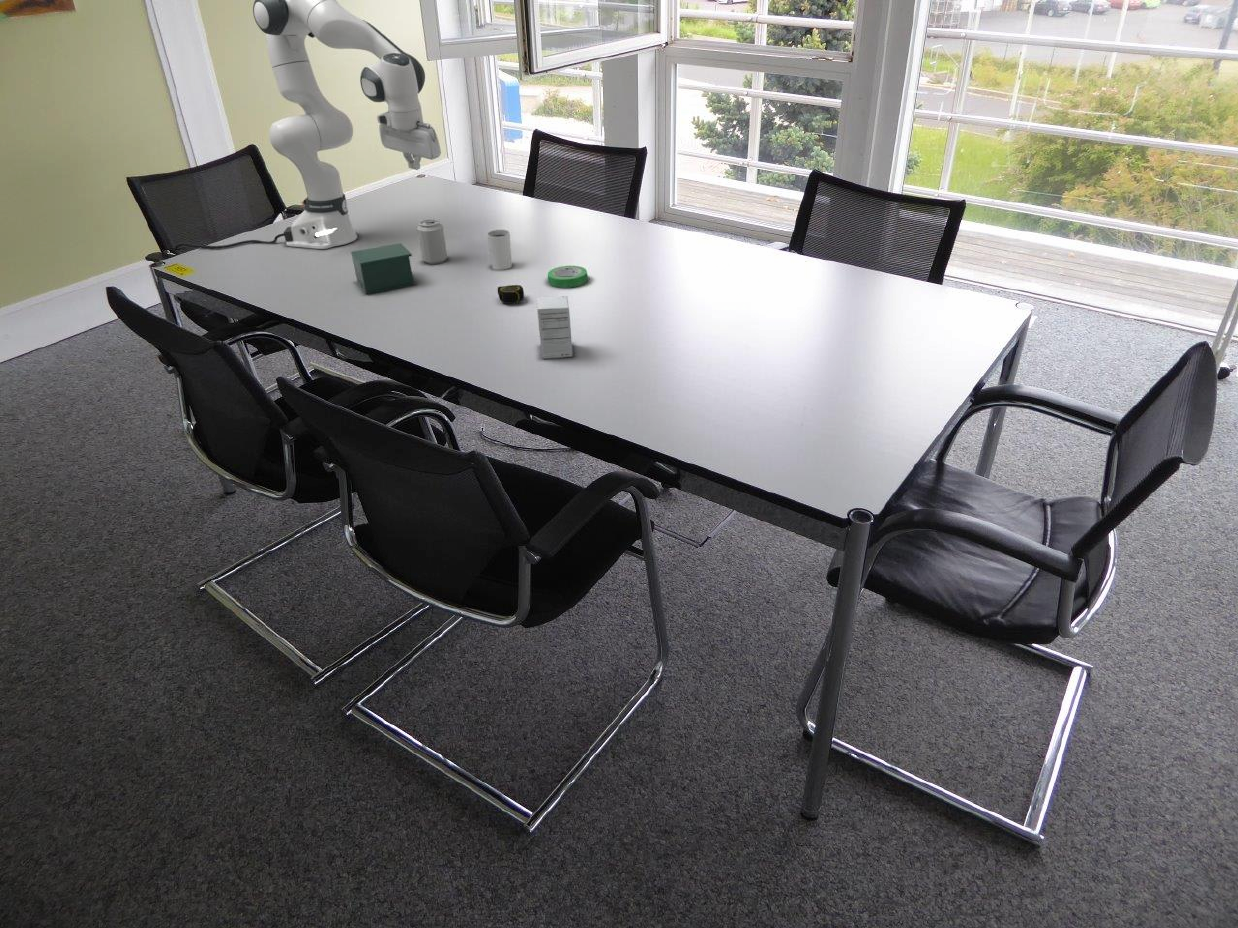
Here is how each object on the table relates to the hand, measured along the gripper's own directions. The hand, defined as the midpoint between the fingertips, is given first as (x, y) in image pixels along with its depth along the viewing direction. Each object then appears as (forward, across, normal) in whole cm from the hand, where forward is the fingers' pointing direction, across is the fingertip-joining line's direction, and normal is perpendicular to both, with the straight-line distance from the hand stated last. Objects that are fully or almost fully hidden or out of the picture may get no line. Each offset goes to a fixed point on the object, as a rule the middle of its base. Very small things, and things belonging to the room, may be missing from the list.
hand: (414, 168), depth 248 cm
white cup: (+27, -24, -6) cm, 37 cm away
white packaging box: (+20, -74, +31) cm, 83 cm away
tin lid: (+18, -3, +20) cm, 27 cm away
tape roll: (+25, -48, -7) cm, 55 cm away
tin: (+26, -4, +21) cm, 34 cm away
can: (+28, -2, 0) cm, 28 cm away
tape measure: (+24, -44, +12) cm, 51 cm away
